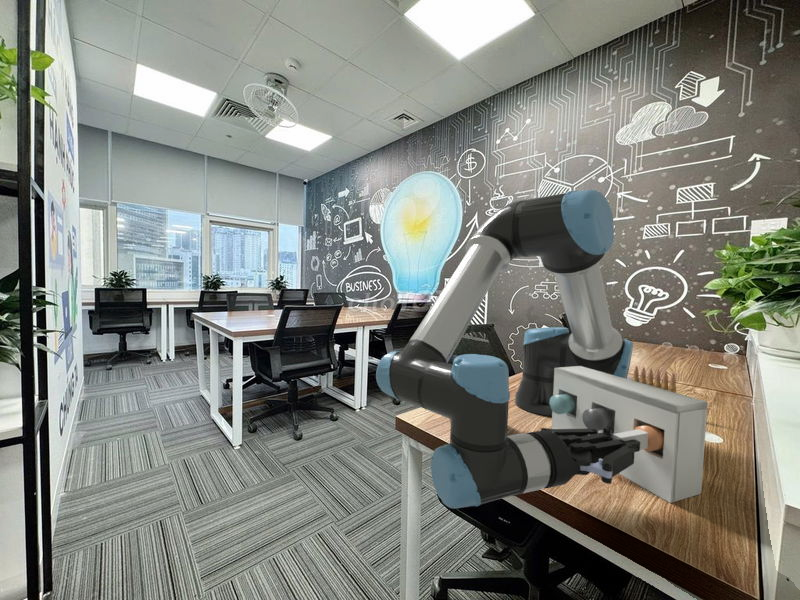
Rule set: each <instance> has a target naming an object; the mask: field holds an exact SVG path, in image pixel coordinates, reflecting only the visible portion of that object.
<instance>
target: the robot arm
mask: <svg viewBox="0 0 800 600" xmlns="http://www.w3.org/2000/svg"><path fill="white" fill-rule="evenodd" d="M613 224H614V216H613V212H612V208H611V206H610V203H609V201H608V199H607V197H606V196H605V195H604V194H603V193H602V192H600V191H597V190H596V189H585V190H569V191H567V192H565V193H557V194H553V195H547V196H541V197H535V198H529V199H522V200H517V201H513V202H512V203H509V204H506V205H505V206H503V207H501V208H499V209H498V210H497V211H495V212H494V213H492V215H491V216H490V215H489V217H488V218H487V219H486V220H484V222H482V224H481V225H480V226H479V227H478V228H477V229H476V230H475V231H474V233H473V235H472V236H470V238H469V240H468V241H467V243H466V245H465V251H466V252H465V255H464V256H463V258H462V260H461V261H460V263H459V264H458V266H457V267H456V269H455V270H454V272H453V273H452V275H451V276H450V278H449V279H448V281H447V283H446V284H445V285H444V287H443V288H442V290H441V292H440V294H439V295H438V296H437V298H436V300H435V301H434V302H433V304H432V305H431V307H430V309H429V310H428V311H427V313H426V315H425V316H424V318H423V319H422V320H421V322H420V324H419V325H418V327H417V329H416V330H415V331H414V333H413V335H412V336H411V337H410V339H409V341H408V343H407V344H406V345H405V346H404V348H403V350H402V351H399V350H398V351H390V352H388V353H387V354H384V355H383V356H382V357H381V359H380V361H379V362H378V365H377V367H376V372H375V379H376V383H377V385H378V387H379V389H380V390H381V392H383V393H385V394H386V395H388V396H390V397H393V398H395V400H397V401H400V402H403V403H408V404H410V405H413V406H416V407H419V408H422V409H424V410H427V411H429V412H430V413H435V414H437V415H439V416H442V417H445V418H447V419H449V420H450V432H449V443H447V444H446V443H445V444H444V445H440V446H439V447H438V446H437V448H435V449H434V450H433V453H432V456H431V459H430V472H431V473H430V474H431V479H432V485H433V487H434V489H435V491H436V493H437V496H438V498H439V499H441V502H442V503H443V505H445V506H446V507H448V508H449V509H460V508H469V507H479V506H481V505H485V504H487V503H490V502H491V503H492V502H495V501H497V500H501V499H505V498H508V497H515V496H519V495H522V494H526V493H531V492H535V491H540V490H542V489H551V488H554V487H559V486H563V485H565V484H567V483H569V481H570V480H572V478H573V477H575V476H576V475H577V476H578V475H579V476H587V475H589V474H591V473H592V474H594V475H597V476H598V477H601V479H600V480H601V481H602V482H603V483H604V484H607V485H609V484H610V485H611V484H612V483H613V478H614V477H615V476H618V474H619V473H620V472H621V471H623V470H625V469H626V468H628V467H629V466H631V465H632V464H634V453H635V452H638V451H640V450H643V449H648V433H647V432H645V431H643V430H640V429H638V430H632V431H627V432H621V433H615V434H611V430H610V429H607V428H603V433H598V430H596V429H592V428H591V429H552V428H549V427H548V428H547V427H542V428H540V430H536V431H529V432H527V433H525V432H523V433H517V434H512V435H511V434H509V435H508V425H509V424H508V422H509V421H508V419H509V404H510V397H511V393H510V392H511V391H510V383H509V382H510V381H509V378H510V377H509V373H510V372H509V371H510V370H509V366H508V364H507V363H506V362H505V361H504V360H502V359H501V358H499V357H496V356H492V355H486V354H477V353H467V354H466V353H464V354H460V355H458V356H455V357H454V359H453V361H452V364H451V363H448V362H449V361H450V359H451V357H452V356H453V353H454V352H455V350H456V348H457V347H458V345H459V343H460V342H461V339H462V338H463V336H464V334H465V332H466V331H467V329H468V328H469V325H470V323H471V322H472V320H473V318H474V316H475V314H476V313H477V311H478V309H479V308H480V306H481V304H482V302H483V300H484V298H485V297H486V295H487V293H488V291H489V290H490V288H491V286H492V285H493V282H494V281H495V279H496V278H497V276H498V274H499V272H501V271H504V270H505V269H506V268H507V267H508V266H509V265H510V263H511V261H512V260H515V259H517V258H518V259H519V258H530V257H531V258H532V257H533V258H534V257H539V258H540V261H541V262H542V266H543V268H544V269H545V270H546V271H548V272H549V273H552V274H553V275H554V279H555V282H556V285H557V289H558V291H559V296H560V298H561V302H562V304H563V305H562V306H563V309H564V312H565V314H566V315H565V316H566V319H567V321H568V324H569V328H570V330H569V328H567V327H562V326H561V327H560V326H557V327H553V326H552V327H550V326H549V327H538V328H537V327H535V328H529V329H527V330H526V331H525V332H524V337H523V343H522V344H523V349H522V355H523V357H522V376H521V380H520V383H519V386H518V389H517V391H516V392H515V398H514V403H515V405H516V406H517V407H519V408H520V409H522V410H524V411H527V412H530V413H533V414H537V415H541V416H549V417H550V416H551V417H552V409H551V407H550V398H551V397H552V396H553V389H554V368H559V367H572V366H583V367H586V368H590V369H593V370H597V371H600V372H604V373H607V374H611V375H614V376H618V377H622V378H625V379H627V377H628V375H629V371H630V367H631V362H632V356H633V348H634V346H633V345H634V344H633V341H632V340H628V339H625V338H623V337H622V334H621V333H620V332H619V331H618V330H617V329H616V328H615V327H613V326H612V321H611V315H610V310H609V305H608V299H607V296H606V295H607V294H606V290H605V285H604V280H603V276H602V270H601V265H600V262H601V261H603V259H604V258H605V256H606V253H607V252H609V251H610V249H611V248H612V246H613V243H614V238H615V227H614V225H613ZM570 331H571V332H570ZM588 434H590V435H588Z"/></svg>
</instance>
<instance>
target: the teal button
mask: <svg viewBox="0 0 800 600" xmlns="http://www.w3.org/2000/svg"><path fill="white" fill-rule="evenodd" d="M550 407H551V409H552V411H553V412H554V413H556V414H565V413H571V412H573V411H574V408H575V404H574V401H573V399H572V398H571V396H569V395H567V394H561V395H553V396H552V397H551V398H550Z"/></svg>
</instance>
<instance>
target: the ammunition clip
mask: <svg viewBox="0 0 800 600" xmlns="http://www.w3.org/2000/svg"><path fill="white" fill-rule="evenodd" d="M646 375H647V377H646ZM639 376H640V377H639ZM632 377H633V379H632V381H636V382H639V383H643V384H646V385H650V386H654V387H657V388H661V389H664V390H668V391H671V392H675V393H677V378H676V374H675V372H672V373H671V375H670V379H669V375H668V372H667V371H666V370H665V371H664V373H663V376H662V382H661V373H660V369H657V370H656V371H655V376H654V373H653V369H652V368H649V370H648V373H647V374H646V368H645V367H642V368H641V371H640V375H639V368H638V366H637V365H635V366H634V370H633V375H632ZM639 378H640V381H639ZM646 380H647V383H646Z"/></svg>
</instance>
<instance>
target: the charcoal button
mask: <svg viewBox="0 0 800 600" xmlns="http://www.w3.org/2000/svg"><path fill="white" fill-rule="evenodd" d="M582 419H583V422H584V424H585V426H586V427H587V428H588V429H591V428H592V429H596V430H598V431H599V430H603V428H607V429H609V428H610V427H611V425H612V418H611V416H610V414H609V413H608V412H607V411H606V410H605V409H603V408H595V409H588V410H585V411H584V412H583V415H582Z"/></svg>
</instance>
